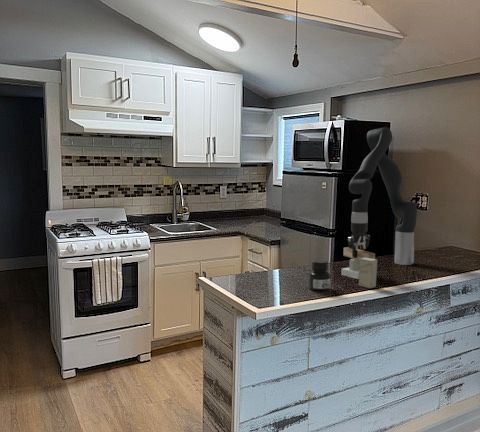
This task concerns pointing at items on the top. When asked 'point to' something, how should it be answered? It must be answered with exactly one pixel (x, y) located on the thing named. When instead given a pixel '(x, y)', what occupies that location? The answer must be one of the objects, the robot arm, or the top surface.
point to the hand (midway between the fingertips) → (358, 257)
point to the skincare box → (368, 272)
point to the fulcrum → (352, 269)
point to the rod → (358, 254)
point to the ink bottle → (319, 276)
